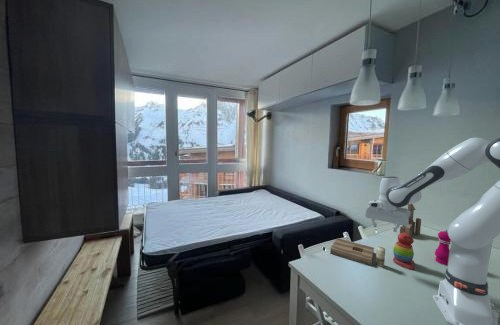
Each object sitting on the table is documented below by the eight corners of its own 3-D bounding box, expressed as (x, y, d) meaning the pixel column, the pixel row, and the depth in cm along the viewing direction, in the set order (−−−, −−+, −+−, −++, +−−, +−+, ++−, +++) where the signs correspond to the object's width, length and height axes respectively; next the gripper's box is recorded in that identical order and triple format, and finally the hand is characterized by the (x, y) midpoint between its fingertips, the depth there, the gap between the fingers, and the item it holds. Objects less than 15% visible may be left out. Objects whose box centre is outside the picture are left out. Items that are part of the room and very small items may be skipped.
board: (370, 265, 114) (371, 259, 114) (330, 253, 127) (330, 248, 126) (373, 252, 129) (373, 247, 128) (336, 242, 141) (337, 237, 141)
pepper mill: (454, 266, 115) (457, 232, 114) (439, 264, 117) (442, 231, 115) (444, 259, 122) (448, 227, 121) (431, 258, 124) (434, 226, 122)
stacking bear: (414, 271, 110) (416, 239, 109) (391, 263, 117) (393, 233, 115) (414, 262, 118) (417, 233, 117) (393, 256, 125) (395, 228, 124)
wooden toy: (409, 238, 152) (411, 205, 150) (399, 234, 158) (401, 203, 156) (420, 235, 158) (423, 203, 156) (411, 231, 164) (413, 201, 162)
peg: (383, 268, 112) (385, 250, 111) (375, 265, 114) (376, 248, 114) (384, 264, 115) (385, 247, 115) (375, 262, 118) (377, 245, 117)
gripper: (410, 207, 109) (407, 232, 110) (367, 200, 121) (365, 222, 122) (411, 210, 104) (408, 236, 105) (365, 202, 116) (363, 225, 117)
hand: (384, 229), depth 114 cm, fingers open, 8 cm apart
